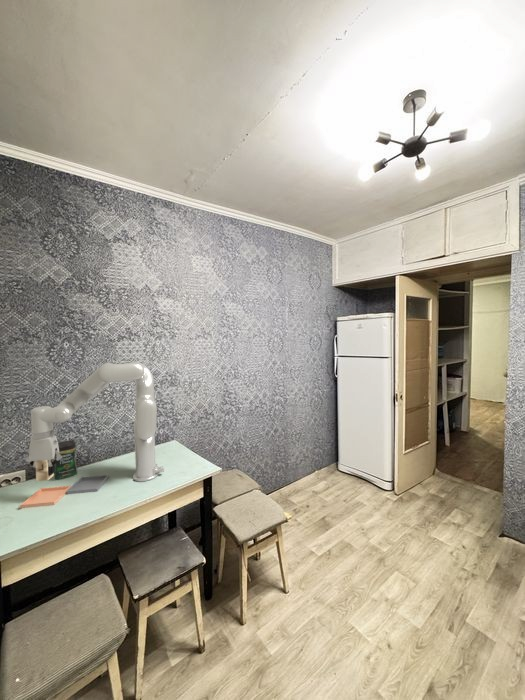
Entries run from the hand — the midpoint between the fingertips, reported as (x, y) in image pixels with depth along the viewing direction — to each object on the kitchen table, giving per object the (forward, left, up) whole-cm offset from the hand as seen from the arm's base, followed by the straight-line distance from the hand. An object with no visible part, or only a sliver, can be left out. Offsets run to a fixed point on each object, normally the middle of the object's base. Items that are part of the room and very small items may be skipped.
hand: (45, 474), depth 124 cm
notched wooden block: (0, 0, -2) cm, 2 cm away
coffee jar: (+3, -21, -12) cm, 24 cm away
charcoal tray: (-14, -8, -12) cm, 20 cm away
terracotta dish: (0, 0, -12) cm, 12 cm away
